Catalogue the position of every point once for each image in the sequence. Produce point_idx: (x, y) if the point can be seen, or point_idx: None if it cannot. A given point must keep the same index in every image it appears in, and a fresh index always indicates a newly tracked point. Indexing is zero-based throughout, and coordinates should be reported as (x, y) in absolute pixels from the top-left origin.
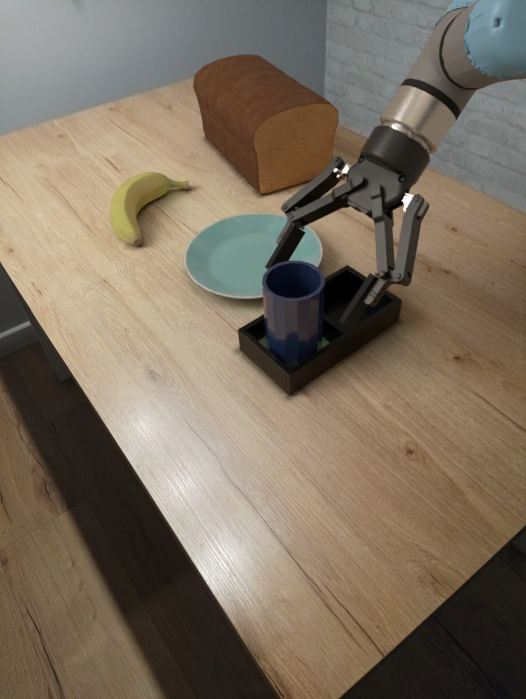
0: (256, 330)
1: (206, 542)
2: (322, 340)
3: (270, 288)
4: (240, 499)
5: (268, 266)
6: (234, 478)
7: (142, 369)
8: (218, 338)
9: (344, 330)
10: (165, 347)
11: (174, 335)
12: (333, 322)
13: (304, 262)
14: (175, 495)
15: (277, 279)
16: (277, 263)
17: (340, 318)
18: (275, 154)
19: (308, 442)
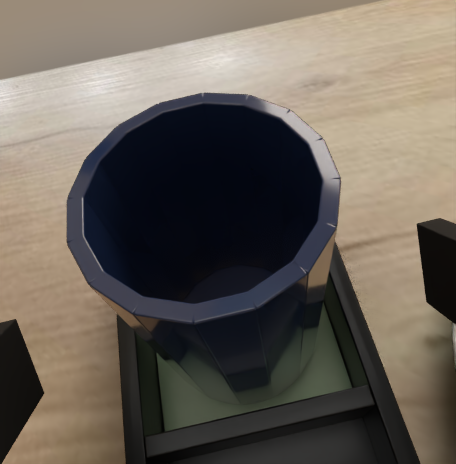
0: None
1: (15, 90)
2: (229, 415)
3: (292, 184)
4: (30, 134)
5: (430, 223)
6: (61, 137)
7: (341, 72)
8: (369, 199)
9: (152, 449)
10: (384, 110)
11: (414, 129)
12: (203, 437)
13: (285, 278)
14: (93, 75)
15: (312, 206)
16: (339, 175)
17: (10, 325)
18: None
19: (31, 252)
